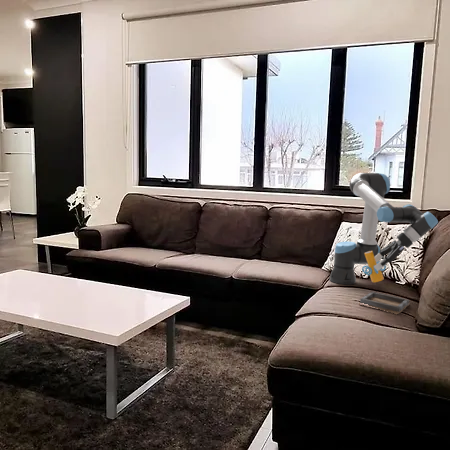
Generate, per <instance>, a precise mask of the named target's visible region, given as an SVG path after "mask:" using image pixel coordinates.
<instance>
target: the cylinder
mask: <svg viewBox="0 0 450 450" xmlns="http://www.w3.org/2000/svg"><path fill="white" fill-rule="evenodd" d="M364 254H365V257H366V260H367V263H368V264H367V265H363V266H362V268H361V270H362V272H363V273H364V274H366V276H369V277H370V280H371V283H378V282H382V281H383V280H384V279H385V278H384V275H383V273H382V271H383V272H384V271H385V270H386V269H387V266H386V265H387V264H386V265H385V266H384V267H382V268H381V269H380V270H379V271H377V270H376V269H375V268H374V266H375V265H376V264H378V263H379V262H380V261H381V260H379V261H378V262H377V263H376V260H375V257H374V254H373V251H368V252H366V253H364Z"/></svg>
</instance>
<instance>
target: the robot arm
mask: <svg viewBox="0 0 450 450" xmlns="http://www.w3.org/2000/svg"><path fill="white" fill-rule="evenodd" d="M390 181H391V180H390V179H389V177H388V175H386V174H385V173H378V172H359V173H356V174H354V175H353V176H352V178H351V179H350V181H349V189H350V191H351V192H352V193H353V195H355V196H357V197H360V198H361V199H362V200H363V201H364V209H363V215H362V223H361V229H360V236H359V237H360V238H359V239H357V241H356V242H355V241H340V242H338V243H336V244H335V248H334V256H333V257H334V258H333V268H332V270H331V273H330V275H329V281H330V282H332V283H335V284H340V285H354V284H356V282H357V278H356V273H355V269H354V268H355V265H368V263H367V260H366V257H365V254H364V253H366V252H368V251H373V254H374V257H375V260H376V263H377V262H378V261H380V262H379V263H378V264H376V265H375V266H374V268H375V269H376V270H377V271H379V270H380V269H381V268H382V269H383V268H384V266H385V265H388V264H389V263H393V261H394V260H395V259H396V258H397V257H399V255H400V254H401V253H402V252H403V251H404V250H405V249H406V248H407V249H408V248H410V247H412V245H413V244H414V243H416V242H418V241H420V239H421V238H422V237H423V236H425V234H427V233H428V232H429V231H431V230H432V229H433V228H434V227H436V225H437V224H438V223H439V221H438V219H437V217H436V216H435V215H433V213H431V212H430V211H426V212H424V213H423V212H422V211H420V209H418V207H415V205H413V204H411V203H410V204H409V203H408V204H405V205H403V206H402V207H401V206H393V205H392V204H391V203H389V202H388V201H387V200H386V199H385V195H386V194H388V193H389V192H390V188H391V182H390ZM379 222H383V223H409V224H410V225H409V226H407V227H406V228H405V229H404V230H403V232H401V233H399V234H398V235H397V236H396V238H397V241H396V240H393V241H392V242H391V243H389V244H387V245H386V246H385V247H383V248H382V249H381V247H380V246H379V243H378V242H377V240H376V238H377V231H378V224H379ZM386 255H387V256H386Z"/></svg>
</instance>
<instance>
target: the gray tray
mask: <svg viewBox="0 0 450 450" xmlns="http://www.w3.org/2000/svg"><path fill="white" fill-rule="evenodd" d="M359 303H364V304H368V305H369V306H372V307H375V308H378V309H381V310H385V311H388V312H387V313H389V312H391V313H390V314H393V313H394V314H393V315H397V314H398V315H399V314H401V313H402V312H403V311H404V310H405V309H406V308H407V307H409V306H410V299H407V298H402V297H398V296H393V295H389V294H384V293H378V292H376V291H375V292H374V291H371V292H369V293H368V294H366V295H365V296H363V297H361V298H360V299H359Z"/></svg>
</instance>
